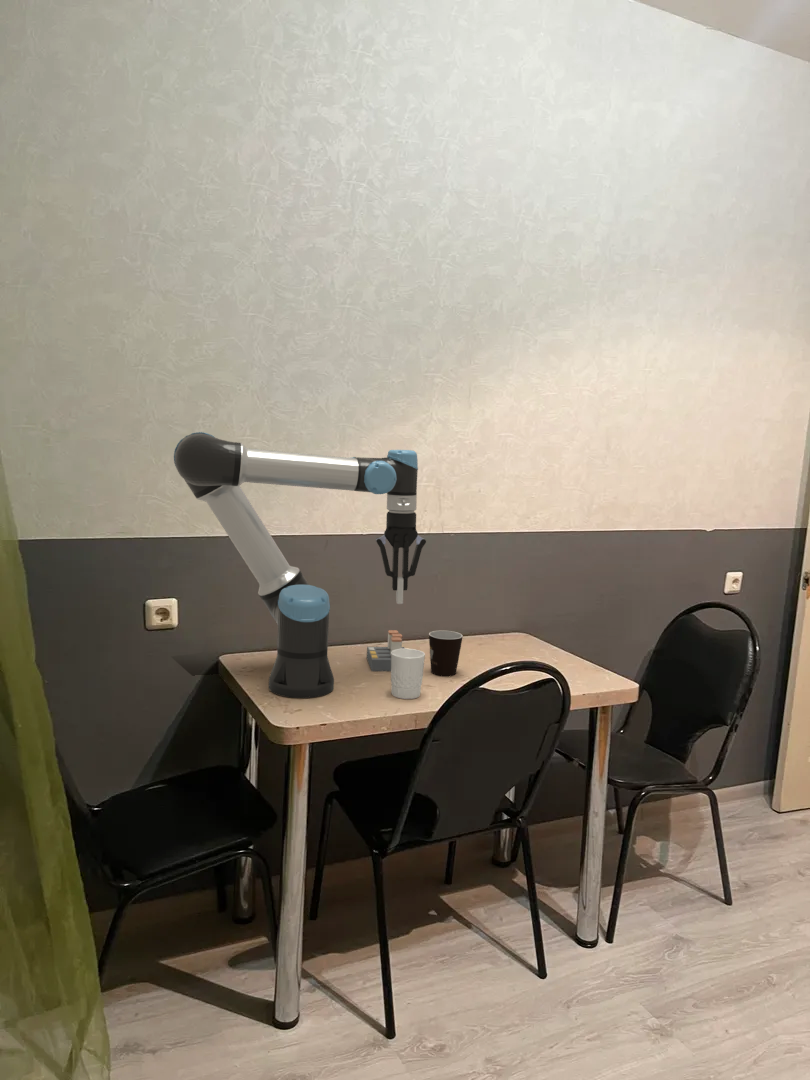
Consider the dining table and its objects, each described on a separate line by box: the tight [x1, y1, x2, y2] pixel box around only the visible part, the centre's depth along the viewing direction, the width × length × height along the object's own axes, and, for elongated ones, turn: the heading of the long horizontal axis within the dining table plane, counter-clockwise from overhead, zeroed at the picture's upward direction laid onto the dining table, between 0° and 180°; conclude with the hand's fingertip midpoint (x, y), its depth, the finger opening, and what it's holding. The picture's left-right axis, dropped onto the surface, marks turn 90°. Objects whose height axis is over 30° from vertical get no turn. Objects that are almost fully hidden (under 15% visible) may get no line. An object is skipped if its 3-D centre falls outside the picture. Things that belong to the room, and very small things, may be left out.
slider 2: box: [392, 633, 403, 649], centre depth 211 cm, size 2×2×4 cm
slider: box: [386, 629, 400, 649], centre depth 215 cm, size 2×2×4 cm
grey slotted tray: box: [366, 646, 405, 672], centre depth 211 cm, size 10×12×3 cm
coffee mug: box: [428, 629, 464, 678], centre depth 208 cm, size 12×9×10 cm
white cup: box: [390, 647, 426, 700], centre depth 188 cm, size 8×8×10 cm
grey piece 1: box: [390, 637, 403, 655], centre depth 208 cm, size 2×2×4 cm
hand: (399, 602), depth 208 cm, fingers closed
